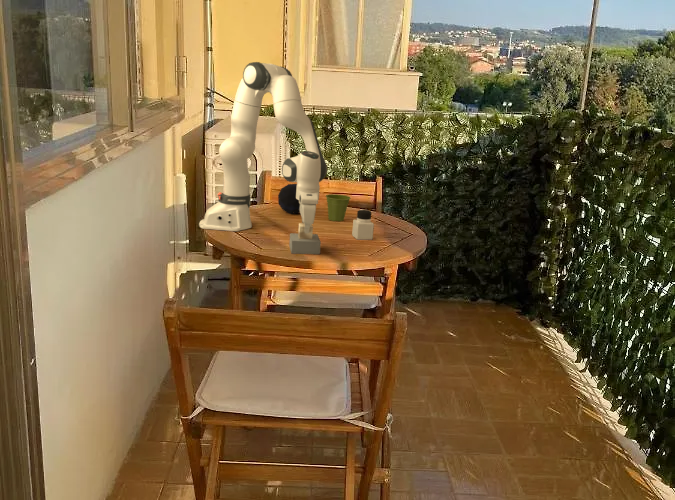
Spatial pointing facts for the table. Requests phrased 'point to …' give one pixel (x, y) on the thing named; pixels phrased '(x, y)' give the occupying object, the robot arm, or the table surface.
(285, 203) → the decorative orb
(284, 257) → the table surface
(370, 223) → the medicine bottle
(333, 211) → the plant pot
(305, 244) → the grey block
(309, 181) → the robot arm
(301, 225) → the ash cube
